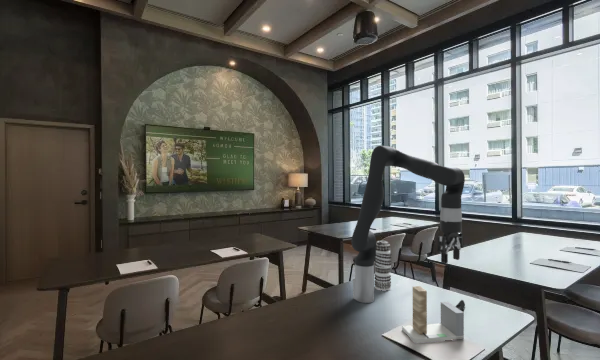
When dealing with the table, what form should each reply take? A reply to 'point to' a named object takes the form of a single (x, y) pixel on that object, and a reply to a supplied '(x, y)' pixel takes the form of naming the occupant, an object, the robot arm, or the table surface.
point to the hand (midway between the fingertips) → (450, 261)
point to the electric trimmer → (460, 305)
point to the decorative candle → (382, 266)
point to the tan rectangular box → (420, 310)
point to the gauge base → (441, 326)
